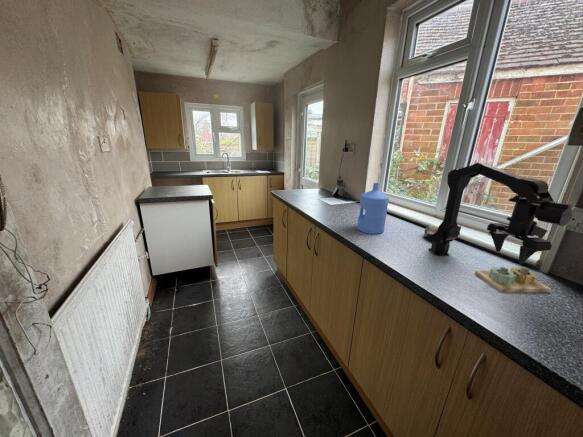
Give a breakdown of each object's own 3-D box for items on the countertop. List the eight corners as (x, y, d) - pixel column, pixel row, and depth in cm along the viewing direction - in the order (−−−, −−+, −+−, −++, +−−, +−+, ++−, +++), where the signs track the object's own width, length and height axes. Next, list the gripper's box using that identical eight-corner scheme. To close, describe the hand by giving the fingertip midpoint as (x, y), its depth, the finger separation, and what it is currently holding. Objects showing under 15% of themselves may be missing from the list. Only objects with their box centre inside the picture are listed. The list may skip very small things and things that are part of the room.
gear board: (500, 292, 83) (505, 277, 81) (474, 273, 95) (478, 260, 93) (549, 292, 84) (555, 277, 82) (517, 274, 95) (522, 260, 93)
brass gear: (528, 286, 84) (531, 279, 83) (504, 276, 90) (507, 269, 90) (538, 282, 87) (541, 275, 86) (514, 272, 93) (517, 265, 92)
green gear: (499, 284, 85) (502, 277, 84) (484, 273, 92) (486, 267, 91) (518, 284, 85) (521, 277, 84) (501, 273, 92) (504, 267, 91)
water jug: (386, 228, 143) (393, 182, 134) (380, 236, 130) (388, 187, 121) (361, 223, 151) (366, 180, 142) (353, 230, 138) (358, 183, 129)
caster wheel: (441, 249, 122) (420, 242, 127) (442, 238, 130) (423, 232, 135) (446, 239, 119) (425, 232, 123) (447, 228, 127) (427, 222, 131)
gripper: (577, 226, 72) (558, 270, 77) (519, 209, 90) (507, 246, 95) (542, 225, 72) (525, 270, 77) (491, 209, 89) (480, 246, 94)
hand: (508, 257), depth 85 cm, fingers open, 9 cm apart
